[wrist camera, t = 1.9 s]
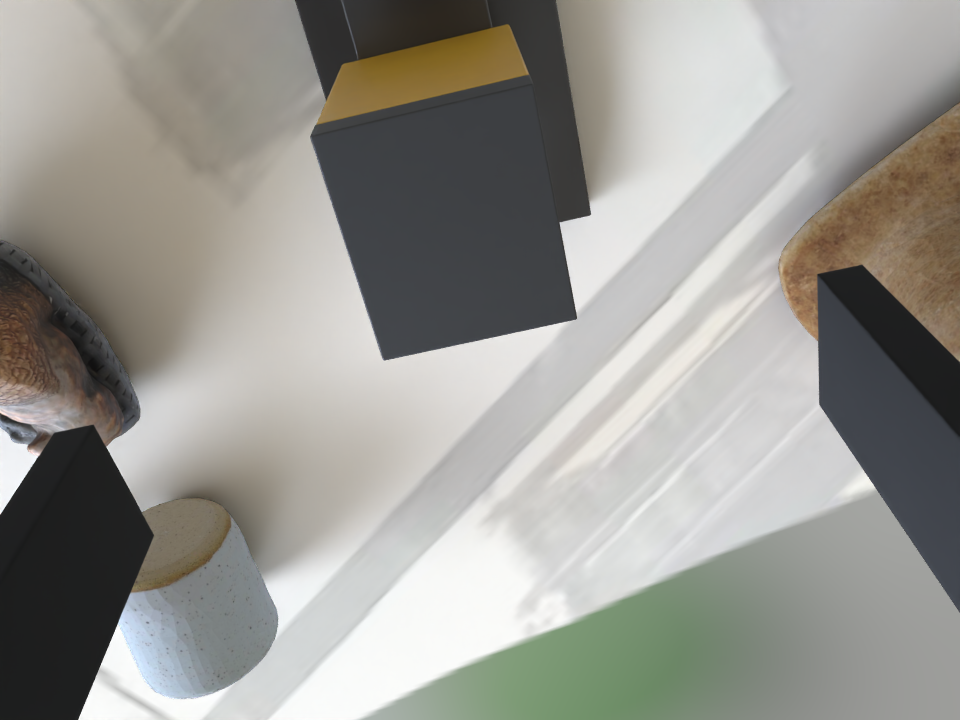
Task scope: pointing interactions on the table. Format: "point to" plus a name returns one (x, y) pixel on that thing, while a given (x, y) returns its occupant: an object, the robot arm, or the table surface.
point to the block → (445, 193)
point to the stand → (450, 13)
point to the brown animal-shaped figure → (54, 361)
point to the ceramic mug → (197, 602)
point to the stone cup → (891, 234)
